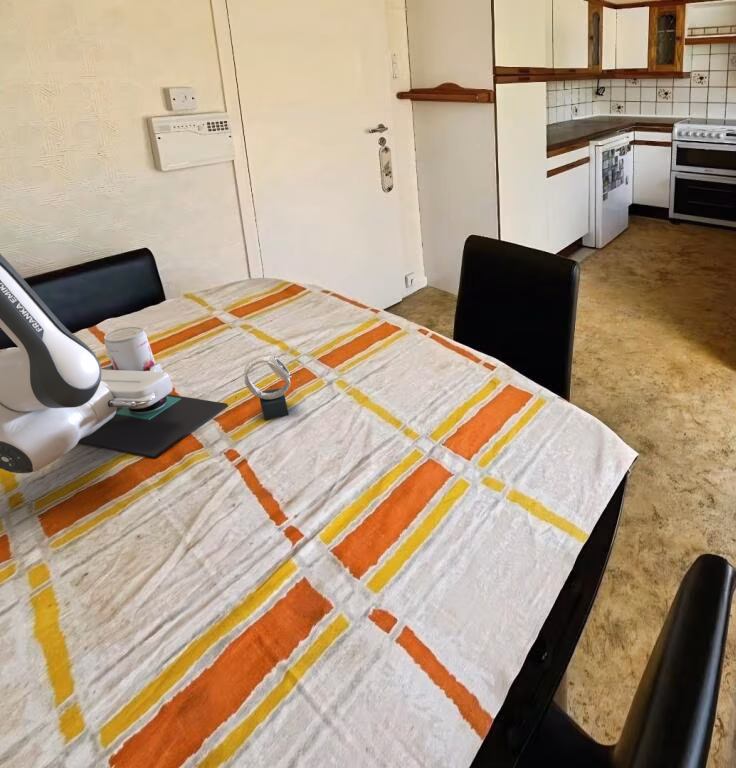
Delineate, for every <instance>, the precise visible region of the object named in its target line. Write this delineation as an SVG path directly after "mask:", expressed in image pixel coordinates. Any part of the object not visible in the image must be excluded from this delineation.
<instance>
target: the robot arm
mask: <svg viewBox="0 0 736 768" xmlns="http://www.w3.org/2000/svg"><path fill="white" fill-rule="evenodd" d="M0 328H1V329H0V330H2V331H3V332H4V333H5V334H6V335H7V336H8V338H10V340H11V341H12V342H13V343H14V344H15V345H16V346H17V347H8V348H3V349H0V469H1V470H3V471H7V472H8V473H14V474H31V473H35V472H37V471H39V470H41V469H43V468H46V467H47V466H50V464H52V463H54V462H55V461H57V460H59V459H60V458H61V457H63V456H64V455H66V454H67V453H69V452H70V451H71V450H73V449H74V448H75V447H76V446H77V445H78V444H77V443H78V441H79V440H80V439H81V438H83V437H86V436H89V435H90V434H92V433H93V432H95V431H96V430H97V429H98V428H100V427H101V426H102V425H104V424H105V423H106V422H108V421H109V420H110V419H112V418H113V417H114V415H115V413H116V409H117V408H135V409H138V408H145V407H148V406H150V405H152V404H154V403H156V402H157V401H159V400H160V399H162V398H164V397H165V396H166V395H168V394H171V393H172V392H173V383H172V380H171V378H170V376H169V374H168V372H166V371H164V370H163V366H162V364H161V363H155V364H151V365H150V366H148V367H147V368H148V370H149V371H128V370H114V367H113V365H112V362H111V363H109V364H108V365H104V366H102V365H101V363H100V361H99V359H98V357H97V355H96V353H95V352H94V350H92V349H91V348H90V347H89V346H88V345H87V344H86V343H85V342H84V341H82V340H81V339H80V338H78V336H76V335H75V334H74V333H73V332H71V331H70V330H69V329H68V328H67V327H66V326H65V325H64V324H63V323H62V322H61V321H60V320H59V318H58V317H57V316H56V315H55V313H53V312H52V310H51V309H50V308H49V307H48V306H47V305H46V303H45V302H44V301H43V300H42V299H41V297H40V296H39V295H38V294H37V293H36V292H35V291H34V290H33V288H32V287H31V286H30V285H29V284H28V282H27V281H26V280H25V279H24V278H23V277H22V276H21V274H20V273H19V272H18V271H17V270H16V269H15V268H14V267H13V265H12V264H11V263H10V262H9V261H8V260H7V259H6V258H5V257H4V256H3V255H2V254H1V253H0Z"/></svg>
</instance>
